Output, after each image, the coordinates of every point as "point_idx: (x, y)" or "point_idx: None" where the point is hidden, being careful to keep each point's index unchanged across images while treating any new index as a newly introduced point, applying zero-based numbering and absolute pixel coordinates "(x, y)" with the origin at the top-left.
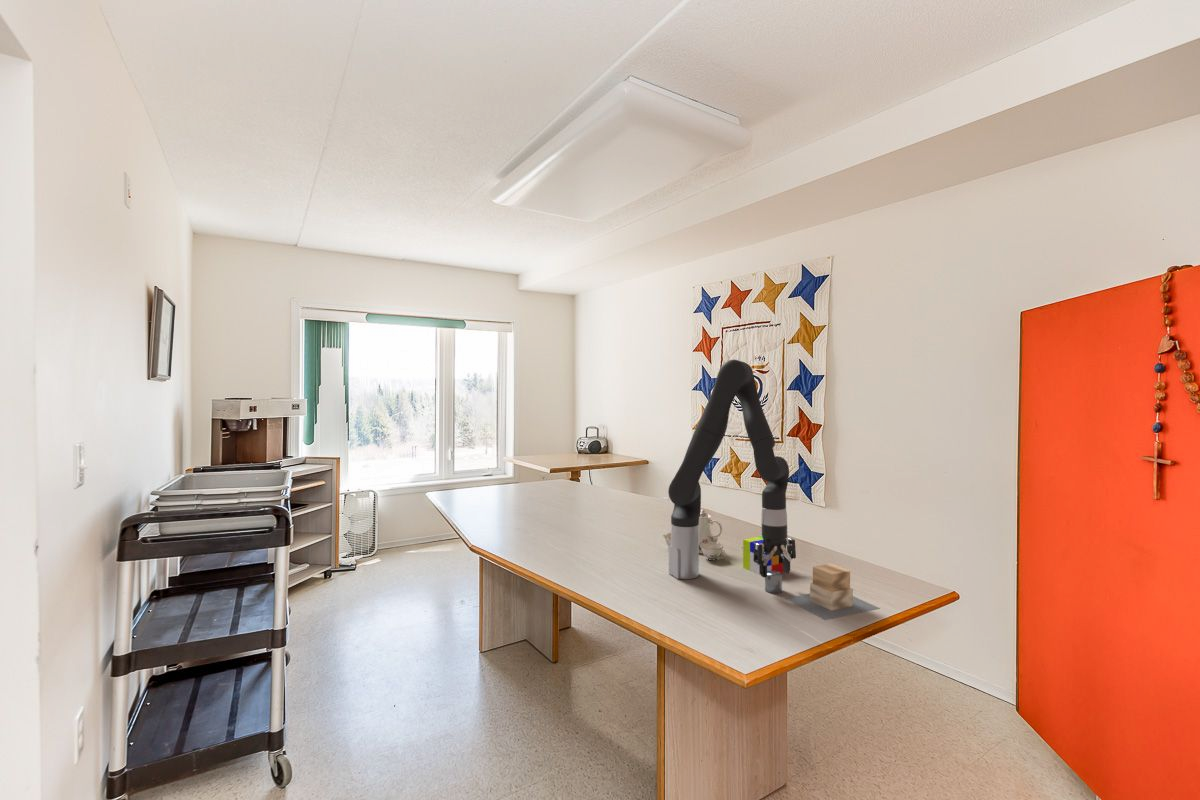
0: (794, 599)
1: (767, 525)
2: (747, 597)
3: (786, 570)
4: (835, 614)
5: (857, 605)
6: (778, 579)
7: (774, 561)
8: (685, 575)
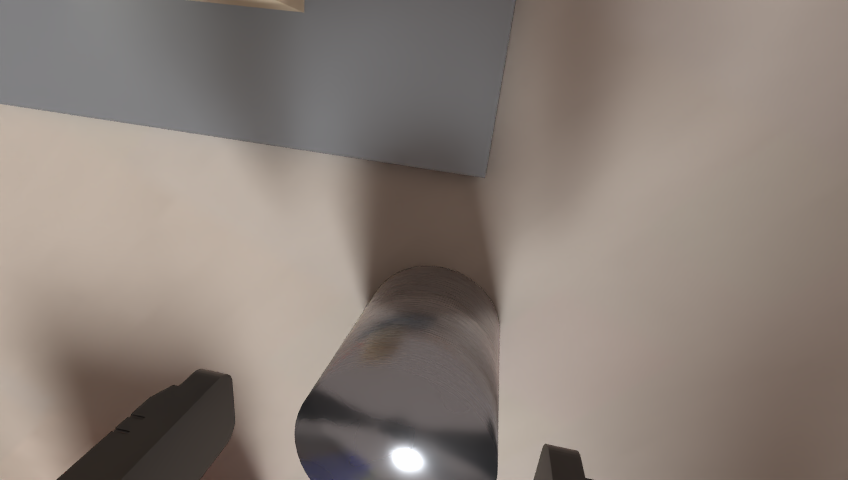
0: (423, 105)
1: None
2: (707, 381)
3: (208, 409)
4: None
5: None
6: (419, 347)
7: None
8: None
